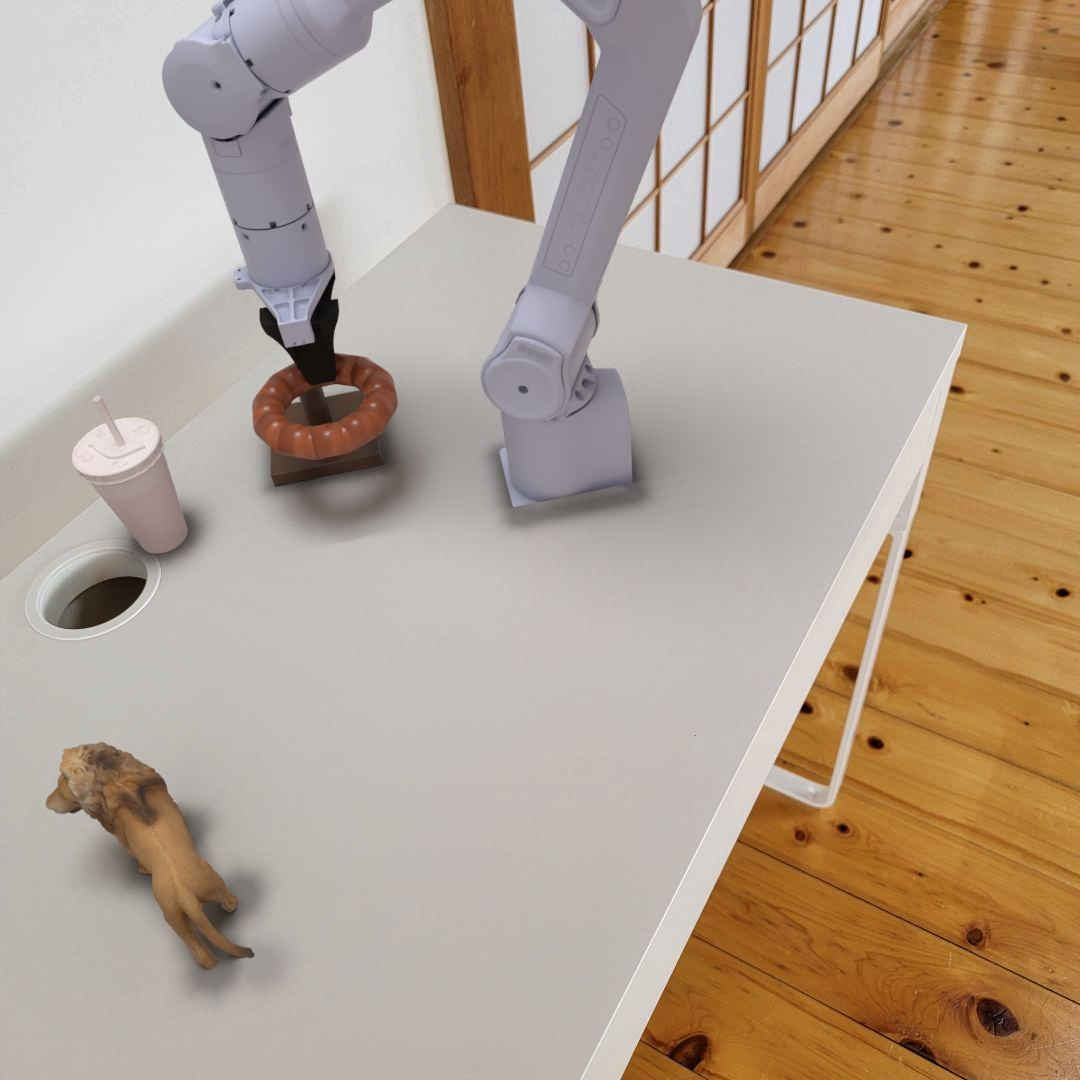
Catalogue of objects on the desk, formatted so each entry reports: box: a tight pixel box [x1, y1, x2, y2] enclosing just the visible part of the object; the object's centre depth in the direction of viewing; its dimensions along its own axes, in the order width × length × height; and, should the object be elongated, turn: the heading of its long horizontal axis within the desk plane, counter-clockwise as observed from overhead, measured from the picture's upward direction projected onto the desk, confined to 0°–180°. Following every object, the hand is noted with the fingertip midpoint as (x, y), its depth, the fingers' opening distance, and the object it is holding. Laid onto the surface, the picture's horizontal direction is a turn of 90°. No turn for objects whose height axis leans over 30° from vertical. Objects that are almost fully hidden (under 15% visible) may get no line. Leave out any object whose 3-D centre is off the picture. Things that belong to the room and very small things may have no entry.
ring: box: [251, 352, 399, 460], centre depth 75 cm, size 11×11×2 cm
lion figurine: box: [45, 741, 256, 970], centre depth 55 cm, size 15×5×9 cm, turn 50°
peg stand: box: [269, 387, 384, 486], centre depth 82 cm, size 9×9×7 cm
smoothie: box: [71, 395, 189, 555], centre depth 74 cm, size 6×6×14 cm
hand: (321, 368), depth 78 cm, fingers closed on ring, 2 cm apart
